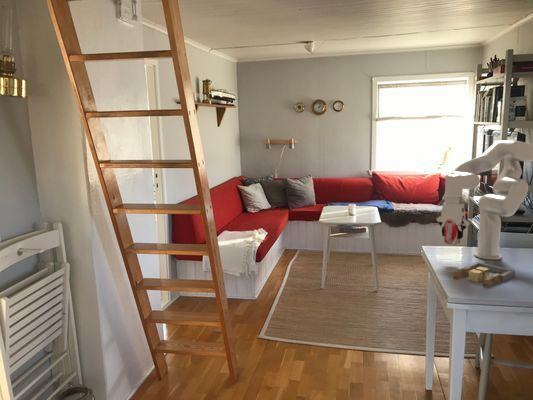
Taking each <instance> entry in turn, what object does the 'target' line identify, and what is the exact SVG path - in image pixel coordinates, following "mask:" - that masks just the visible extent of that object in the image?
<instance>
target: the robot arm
mask: <svg viewBox="0 0 533 400" xmlns="http://www.w3.org/2000/svg"><path fill="white" fill-rule="evenodd" d="M502 160H503V163H504V165H503V166H504V167H503V169H502V170H501V172H500V174H499V176H498V177H497V178H496V180H495V181H494V183H493V185H492V192H493V193H488V194H484V195H482V196H481V197H480V198H479V200H478V210H479V224H478V225H479V226H478V238H477V239H478V240H477V241H478V242H477V251H473V255H474V257H476V258H479V259H483V260H492V261H493V260H494V261H496V260H501V259H502V258H503V257H502V254H500V253H499V252H500V250H501V248H502V247H500V241H501V240H500V239H501V226H502V221H501V217H512V216H514V215H515V213H516V212H517V211H518V209H519V208H520V206H521V204H522V203H523V202H524V200H525V198H526V196H528V193H529V192H528V191H529V184H528V182H527V181H526V180H525V179H522V178H521V176H522V174H523V170H522V166H521V164H520V162H529V163H531V162H533V143H528V142H524V141H520V140H510V139H509V140H508V139H506V140H503V139H502V140H500V139H499V140H496V141H495V142H493V143H492V144H491V145H490V146H489V147H488V148H487V149H485V151H483V152H482V153H481V154H480V155H479V156H477V157H474V158H473V159H470V160H467V161H465V162H463V163H461V164H460V165H459V166H457V167H456V168H455V169H454V170H453V171H452V172H451V173H450V174H449V173H448V174H446V176H445V185H444V186H445V189H444V202H443V204H442V208H441V213H440V214H441V215H439V216H438V217H436V221H437V223H438V224H439V226H440V228H441V235H442V237H444V227H445V222H446V221H447V220H454V222H455V223H456V225H458V229H459V231H458V239H460V240H461V239H463V237H464V231H465V229H467V227H468V226H470V224H471V222H469V221H468V220H467V218H466V209H465V204H464V203H465V201H466V200H465V199H464V197H463V190H473V189H476V188H477V187H479V185H480V183H481V179H480V177H479V175H477V174H479V173H484V172H489V171H492V170H493V169H494V168H495V167H496V166H497V165H499V163H500V162H502ZM500 216H501V217H500Z"/></svg>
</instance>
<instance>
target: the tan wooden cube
mask: <svg viewBox="0 0 533 400" xmlns="http://www.w3.org/2000/svg"><path fill="white" fill-rule="evenodd" d="M482 278H483V271H479V270H474V269H473V270H471V271H469V274H468V281H471V282H475V283H480V282H483V279H482Z"/></svg>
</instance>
